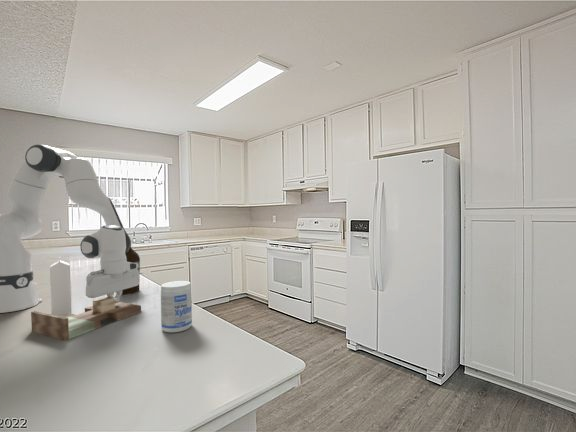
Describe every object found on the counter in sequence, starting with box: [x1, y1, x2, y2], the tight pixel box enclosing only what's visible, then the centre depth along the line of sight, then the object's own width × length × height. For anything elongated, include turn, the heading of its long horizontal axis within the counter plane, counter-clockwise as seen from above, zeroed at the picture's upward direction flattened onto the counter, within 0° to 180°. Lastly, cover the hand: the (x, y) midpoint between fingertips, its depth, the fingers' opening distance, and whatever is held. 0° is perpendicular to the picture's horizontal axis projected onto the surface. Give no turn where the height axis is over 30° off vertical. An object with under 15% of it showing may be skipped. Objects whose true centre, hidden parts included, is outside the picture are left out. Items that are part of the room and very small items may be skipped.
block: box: [92, 296, 115, 313], centre depth 111 cm, size 5×5×4 cm
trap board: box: [30, 301, 142, 341], centre depth 107 cm, size 18×27×6 cm, turn 156°
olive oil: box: [122, 245, 141, 295], centre depth 145 cm, size 11×11×25 cm
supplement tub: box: [160, 280, 193, 334], centre depth 99 cm, size 10×10×15 cm
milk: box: [49, 257, 73, 316], centre depth 114 cm, size 6×6×22 cm
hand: (115, 303), depth 115 cm, fingers closed
